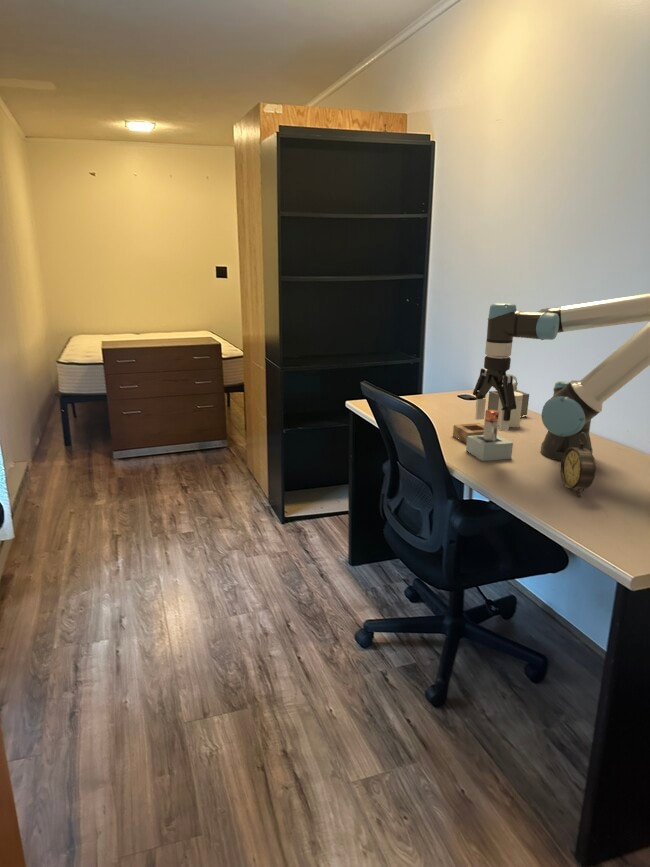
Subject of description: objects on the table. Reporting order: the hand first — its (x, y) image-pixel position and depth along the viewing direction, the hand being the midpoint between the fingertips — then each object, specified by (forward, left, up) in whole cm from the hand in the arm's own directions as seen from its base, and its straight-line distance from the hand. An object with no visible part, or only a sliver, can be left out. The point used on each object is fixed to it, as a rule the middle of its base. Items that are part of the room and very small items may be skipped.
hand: (491, 424), depth 182 cm
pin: (0, 0, -10) cm, 10 cm away
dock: (0, 0, -10) cm, 10 cm away
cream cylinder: (+29, -26, -10) cm, 40 cm away
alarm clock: (-33, -6, -10) cm, 35 cm away
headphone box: (+42, -34, -10) cm, 55 cm away
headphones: (+44, -38, -7) cm, 59 cm away
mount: (+16, -4, -10) cm, 19 cm away
